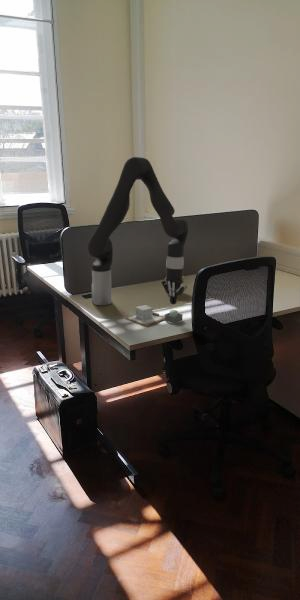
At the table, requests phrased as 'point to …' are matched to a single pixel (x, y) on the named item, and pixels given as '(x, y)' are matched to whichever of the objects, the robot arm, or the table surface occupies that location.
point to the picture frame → (147, 322)
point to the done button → (173, 313)
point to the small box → (144, 312)
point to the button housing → (173, 318)
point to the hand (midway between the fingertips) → (173, 303)
